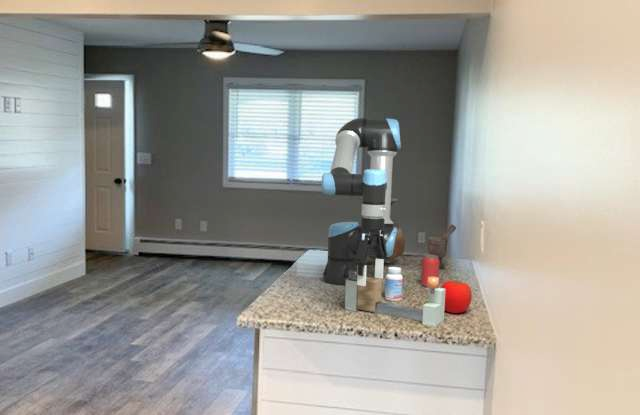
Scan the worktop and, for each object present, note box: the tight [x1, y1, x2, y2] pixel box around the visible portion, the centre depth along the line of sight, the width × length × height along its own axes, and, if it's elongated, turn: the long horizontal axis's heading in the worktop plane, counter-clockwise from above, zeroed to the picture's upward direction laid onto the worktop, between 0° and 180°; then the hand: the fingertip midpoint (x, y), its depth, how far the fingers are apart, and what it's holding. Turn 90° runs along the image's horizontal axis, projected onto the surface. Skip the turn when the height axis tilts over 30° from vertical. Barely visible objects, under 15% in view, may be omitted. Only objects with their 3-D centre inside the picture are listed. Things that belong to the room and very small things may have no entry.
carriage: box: [358, 276, 383, 311], centre depth 198 cm, size 6×5×10 cm
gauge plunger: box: [426, 276, 440, 294], centre depth 184 cm, size 3×3×5 cm
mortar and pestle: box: [427, 224, 457, 269], centre depth 270 cm, size 12×9×20 cm
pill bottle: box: [384, 266, 404, 302], centre depth 213 cm, size 6×6×11 cm
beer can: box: [420, 253, 440, 288], centre depth 234 cm, size 7×7×12 cm
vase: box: [368, 197, 406, 264], centre depth 272 cm, size 23×19×30 cm
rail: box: [344, 270, 423, 322], centre depth 195 cm, size 27×8×13 cm, turn 60°
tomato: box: [440, 280, 473, 314], centre depth 199 cm, size 10×11×11 cm
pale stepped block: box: [421, 287, 445, 327], centre depth 187 cm, size 4×9×10 cm, turn 150°
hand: (370, 281), depth 197 cm, fingers open, 13 cm apart
